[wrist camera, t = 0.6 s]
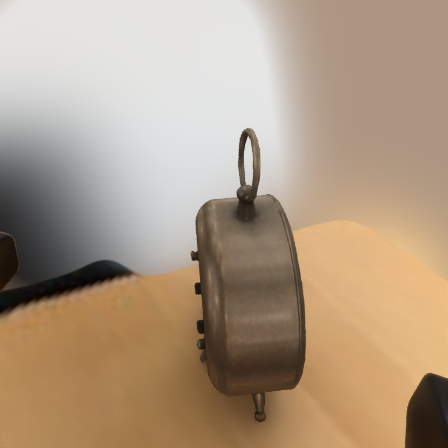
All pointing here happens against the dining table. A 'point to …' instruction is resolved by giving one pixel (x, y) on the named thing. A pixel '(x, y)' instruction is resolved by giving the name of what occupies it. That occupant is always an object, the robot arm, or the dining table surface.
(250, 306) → the alarm clock
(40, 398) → the dining table surface
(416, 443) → the robot arm
